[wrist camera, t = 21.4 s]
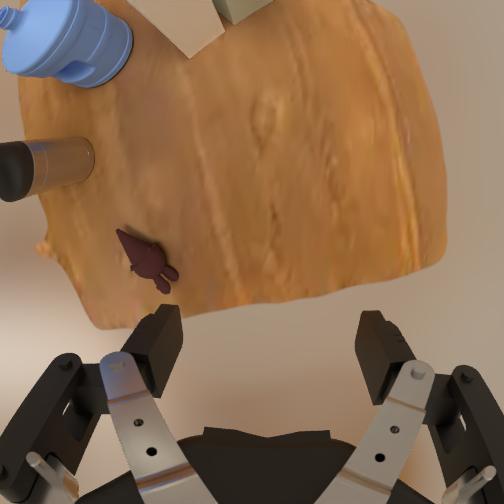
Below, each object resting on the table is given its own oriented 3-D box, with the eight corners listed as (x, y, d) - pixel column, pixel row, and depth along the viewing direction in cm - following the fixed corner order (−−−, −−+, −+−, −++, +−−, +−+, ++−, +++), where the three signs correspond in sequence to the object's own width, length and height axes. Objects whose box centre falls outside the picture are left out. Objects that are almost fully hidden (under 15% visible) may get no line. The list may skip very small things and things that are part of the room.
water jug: (99, 13, 36) (13, -33, 10) (150, 32, 38) (62, -33, 12) (59, 74, 41) (-40, 59, 14) (104, 100, 43) (-9, 84, 17)
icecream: (97, 250, 47) (155, 305, 51) (114, 228, 43) (177, 290, 47) (117, 231, 52) (170, 282, 57) (135, 209, 49) (192, 266, 53)
